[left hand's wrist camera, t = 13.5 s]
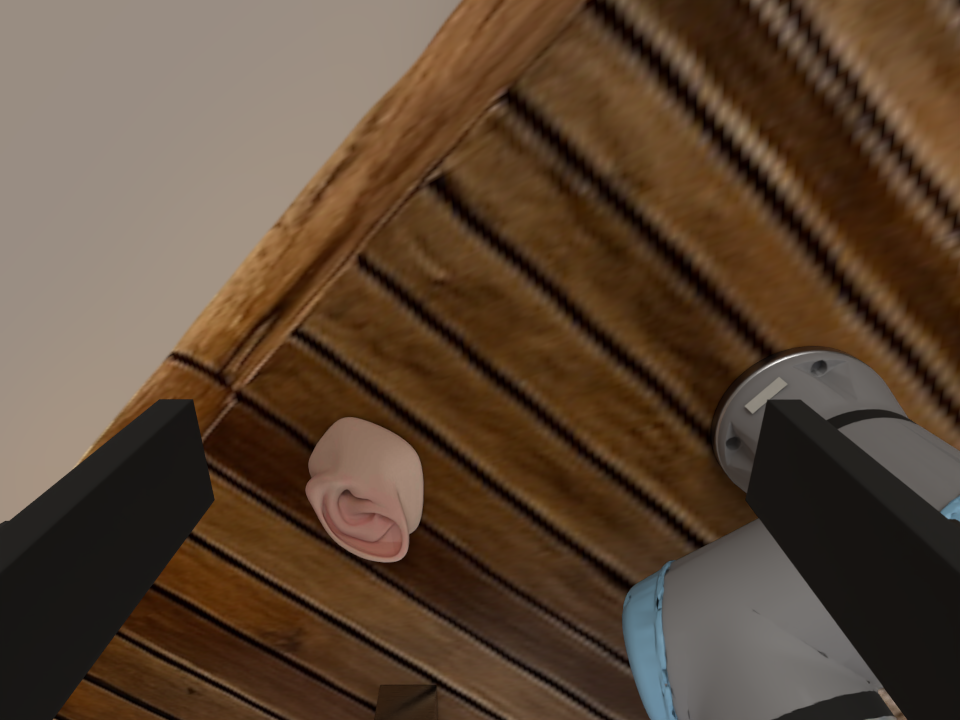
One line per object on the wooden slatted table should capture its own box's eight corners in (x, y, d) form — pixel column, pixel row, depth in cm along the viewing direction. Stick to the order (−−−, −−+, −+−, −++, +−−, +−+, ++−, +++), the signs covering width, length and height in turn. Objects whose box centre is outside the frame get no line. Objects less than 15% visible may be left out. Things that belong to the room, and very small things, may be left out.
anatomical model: (302, 430, 47) (435, 455, 47) (315, 409, 50) (438, 432, 51) (289, 553, 51) (410, 573, 52) (301, 525, 55) (415, 544, 56)
